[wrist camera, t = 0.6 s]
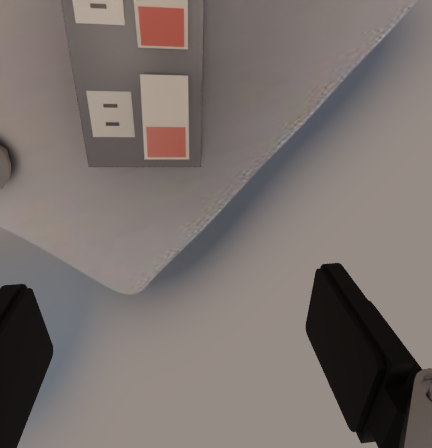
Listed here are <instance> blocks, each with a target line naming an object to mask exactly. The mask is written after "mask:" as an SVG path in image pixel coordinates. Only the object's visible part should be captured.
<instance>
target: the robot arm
mask: <svg viewBox="0 0 432 448" xmlns="http://www.w3.org/2000/svg"><path fill="white" fill-rule="evenodd" d="M306 332H307V335H308V338H309V340H310V342H311V344H312V347H313V349H314V351H315V353H316V356H317V358H318V360H319V362H320V365H321V367H322V369H323V371H324V373H325V376H326V378H327V380H328V382H329V385H330V387H331V389H332V391H333V393H334V396H335V398H336V400H337V403H338V405H339V407H340V409H341V411H342V414H343V416H344V418H345V420H346V423H347V425H348V427H349V429H350V430H351V431H352V432H356V433H357V435H358V438H359V440H360V442H361V443H367V442H376V443H377V446H378V448H432V369H431V368H429V369H423V370H422V369H421V367H420V366H419V365H418V363H417V362H416V361H415V359H414V358H413V357H412V355H411V354H410V353H409V351H408V350H407V349H406V347H405V346H404V345H403V343H402V342H401V341H400V339H399V338H398V337H397V335H396V334H395V333H394V331H393V330H392V329H391V327H390V326H389V325H388V323H387V322H386V321H385V319H384V318H383V317H382V315H381V314H380V313H379V311H378V310H377V309H376V307H375V306H374V305H373V304H372V303H371V302H370V301H368V300H367V298H366V297H365V296H364V294H363V293H362V292H361V290H360V289H359V288H358V286H357V285H356V284H355V282H354V281H353V280H352V278H351V277H350V276H349V274H348V273H347V271H346V270H345V269H344V267H343V266H342V265H341V264H339V263H333V264H323V265H322V266H321V268H320V269H317V270H316V273H315V278H314V284H313V289H312V294H311V300H310V305H309V310H308V316H307V321H306ZM52 356H53V345H52V342H51V340H50V337H49V334H48V331H47V328H46V326H45V323H44V320H43V317H42V315H41V312H40V309H39V306H38V303H37V301H36V298H35V295H34V293H33V290H32V289H31V288H27V287H26V285H24V284H17V285H5V286H2V287H1V288H0V448H17V445H18V443H19V440H20V438H21V435H22V433H23V430H24V428H25V425H26V422H27V420H28V417H29V415H30V412H31V410H32V407H33V405H34V402H35V400H36V397H37V394H38V392H39V389H40V387H41V384H42V382H43V379H44V377H45V374H46V371H47V369H48V366H49V364H50V361H51V359H52Z"/></svg>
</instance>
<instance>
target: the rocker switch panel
mask: <svg viewBox="0 0 432 448" xmlns="http://www.w3.org/2000/svg"><path fill="white" fill-rule="evenodd" d="M61 3H62V9H63V15H64V21H65V27H66V33H67V39H68V45H69V51H70V57H71V63H72V69H73V75H74V81H75V87H76V93H77V99H78V105H79V111H80V117H81V123H82V129H83V135H84V141H85V147H86V153H87V159H88V165H89V167H201V148H202V72H203V0H188V49H161V48H138V43H137V32H136V22H135V11H134V0H61ZM140 74H149V75H184V76H188V105H189V159H144V141H143V122H142V104H141V85H140Z"/></svg>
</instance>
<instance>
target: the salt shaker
mask: <svg viewBox="0 0 432 448" xmlns="http://www.w3.org/2000/svg"><path fill="white" fill-rule="evenodd" d="M10 177H11V163H10V159H9V154H8V150H7V149H5V148H4V147H3V146H1V145H0V189H2V188H3V187H4V185H5V184H6V183H7V181H8V180H9V179H10Z"/></svg>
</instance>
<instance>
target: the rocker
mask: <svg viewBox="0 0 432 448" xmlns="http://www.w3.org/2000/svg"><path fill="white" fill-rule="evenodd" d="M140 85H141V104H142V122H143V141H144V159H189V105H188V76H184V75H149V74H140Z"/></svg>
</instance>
